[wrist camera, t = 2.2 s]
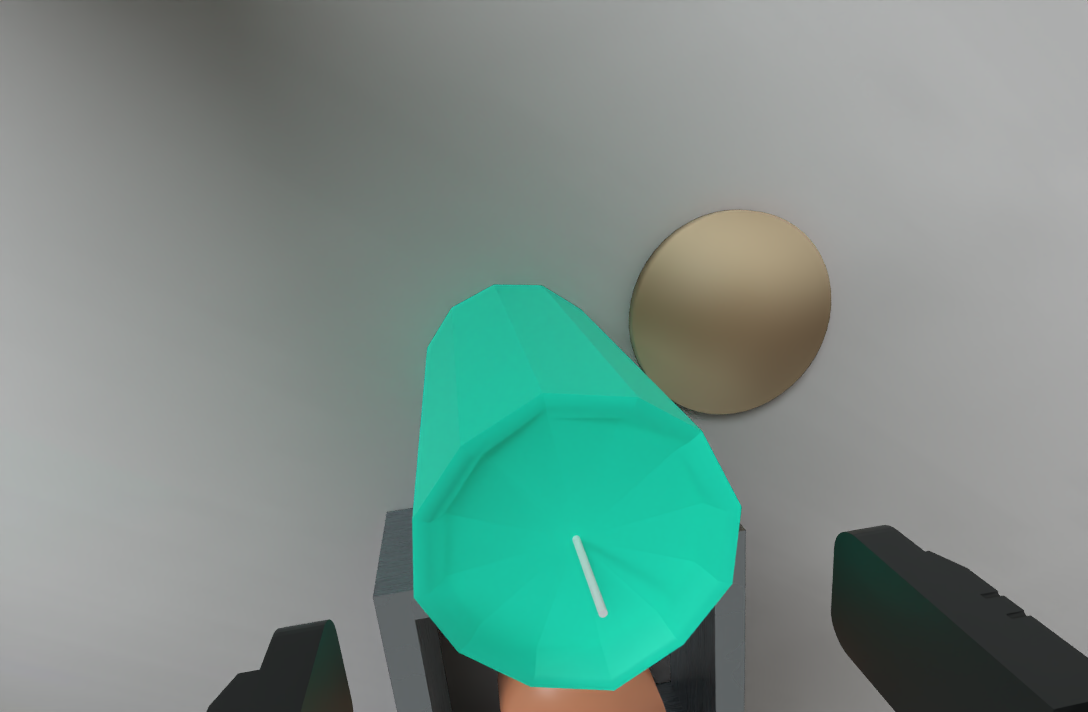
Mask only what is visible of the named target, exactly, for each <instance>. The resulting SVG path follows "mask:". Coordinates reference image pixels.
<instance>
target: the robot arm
mask: <svg viewBox="0 0 1088 712" xmlns="http://www.w3.org/2000/svg"><path fill="white" fill-rule="evenodd" d="M831 617H832V623H833V627H834V630H835V633H836V636H837V638H838V640H839V642H840V644H841V646H842V648H843V649H844V651H845V652H846V654H847V655H848V656H849V657H850V658H851V660H852V661H853V662H854V663H855V664H856V666H857V667H858V668H859V669H860V670H861V671H862V673H863V674H864V675H865V676H866V677H867V679H868V680H869V681H870V682H871V683H872V684H873V686H874V687H875V688H876V689H877V690H878V692H879V693H880V694H881V695H882V696H883V697H884V699H885V700H886V701H887V702H888V703H889V705H890V706H891V707H892V708H893V709H894V710H895V712H1088V658H1087V657H1086V656H1085V655H1083V654H1082V653H1081V652H1079V651H1078V650H1077V649H1075V648H1074V647H1073V646H1071V645H1070V644H1068V643H1067V642H1066V641H1064V640H1063V639H1062V638H1060V637H1059V636H1058V635H1056V634H1055V633H1054V632H1052V631H1051V630H1050V629H1048V628H1047V627H1046V626H1044V625H1043V624H1042V623H1040V622H1039V621H1038V620H1036V619H1035V618H1033V617H1032V616H1026V615H1025V613H1024V610H1023V609H1021V608H1020V607H1019V606H1017V605H1016V604H1015V603H1013V602H1012V601H1011V600H1009V599H1008V598H1007V597H1005V596H1000V595H999V594H998V591H997V590H996V589H994V588H993V587H992V586H990V585H989V584H988V583H986V582H985V581H984V580H982V579H981V578H980V577H978V576H977V575H976V574H974V573H973V572H972V571H970V570H969V569H967V568H966V567H963V566H961V565H959V564H957V563H955V562H952V561H950V560H948V559H946V558H944V557H941V556H939V555H937V554H935V553H933V552H930V551H926V552H925V551H923V550H922V549H921V548H920V547H918V546H917V545H916V544H914V543H913V542H912V541H911V540H909V539H908V538H907V537H905V536H904V535H903V534H901V533H900V532H899V531H898V530H896V529H895V528H893V527H891V526H888V525H882V526H876V527H870V528H865V529H859V530H853V531H847V532H842V533H840V534H839V535H838V536H837V538H836V541H835V546H834V564H833V584H832V603H831ZM207 712H353V706H352V700H351V695H350V690H349V686H348V681H347V677H346V672H345V668H344V663H343V659H342V654H341V650H340V645H339V641H338V637H337V632H336V628H335V626H334V623H333V622H332V621H331V620H324V621H318V622H312V623H307V624H301V625H295V626H289V627H283V628H279V629H277V630H276V631H275V633H274V634H273V637H272V639H271V642H270V644H269V647H268V650H267V652H266V655H265V657H264V660H263V662H262V665H261V668H260V670H256V671H250V672H244V673H239V674H237V675H236V677H235V678H234V679H233V680H232V681H231V682H230V683H229V684H228V686H227V687H226V688H225V689H224V690H223V691H222V692H221V693H220V695H219V696H218V697H217V698H216V699H215V700H214V701H213V702H212V704H211V705H210V706H209V707H208V710H207Z"/></svg>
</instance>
